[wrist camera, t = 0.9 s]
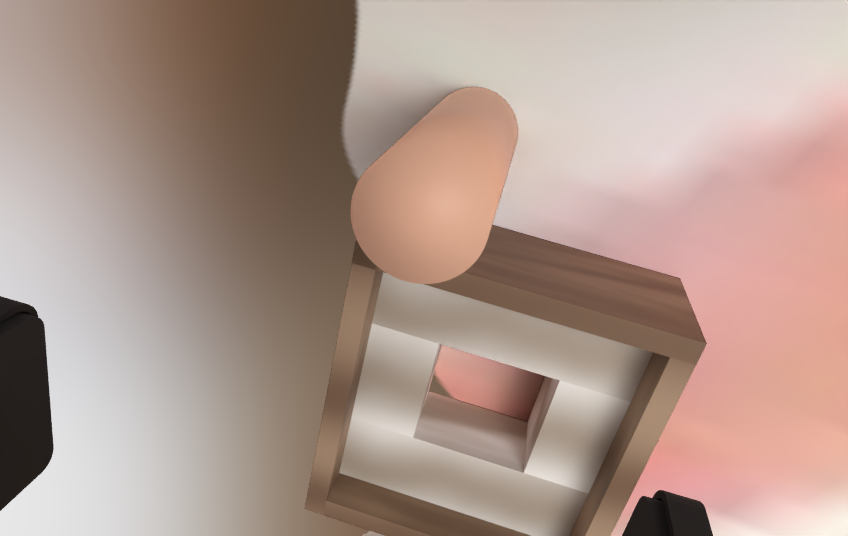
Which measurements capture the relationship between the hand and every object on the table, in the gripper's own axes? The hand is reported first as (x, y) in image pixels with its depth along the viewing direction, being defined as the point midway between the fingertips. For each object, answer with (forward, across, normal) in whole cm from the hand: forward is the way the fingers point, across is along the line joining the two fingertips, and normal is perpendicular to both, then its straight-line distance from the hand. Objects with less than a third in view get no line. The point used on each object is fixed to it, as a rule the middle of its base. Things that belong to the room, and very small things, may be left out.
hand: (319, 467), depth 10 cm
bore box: (+21, -3, +11) cm, 24 cm away
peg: (+21, 0, -1) cm, 21 cm away
